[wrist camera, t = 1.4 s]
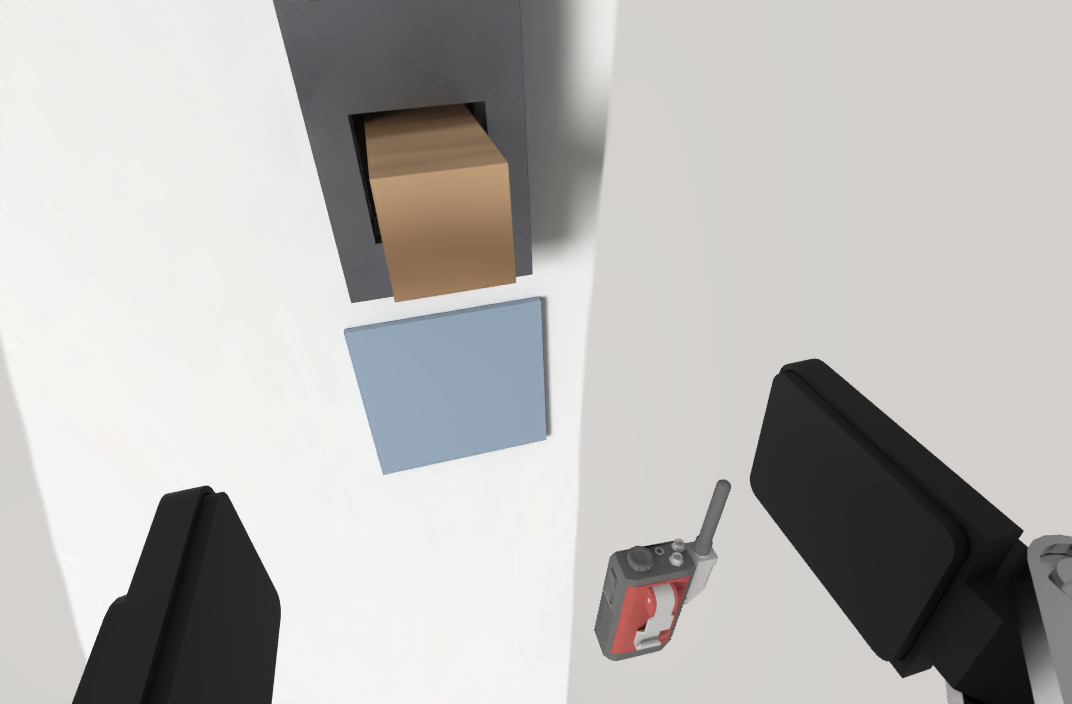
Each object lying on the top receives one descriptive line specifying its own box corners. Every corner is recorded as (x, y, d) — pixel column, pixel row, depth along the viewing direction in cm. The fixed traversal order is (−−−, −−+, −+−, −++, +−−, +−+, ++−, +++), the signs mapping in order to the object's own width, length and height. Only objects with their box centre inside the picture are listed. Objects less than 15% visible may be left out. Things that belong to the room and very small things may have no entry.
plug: (363, 109, 23) (369, 179, 16) (460, 99, 24) (508, 162, 17) (382, 204, 26) (395, 302, 19) (470, 192, 26) (515, 282, 19)
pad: (344, 329, 29) (343, 333, 28) (539, 296, 30) (540, 300, 30) (382, 469, 34) (383, 474, 34) (544, 435, 36) (546, 439, 36)
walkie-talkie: (675, 618, 55) (728, 466, 44) (698, 664, 51) (761, 511, 40) (588, 638, 53) (621, 483, 42) (605, 687, 49) (646, 532, 38)
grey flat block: (211, -288, 17) (188, -327, 14) (484, -281, 18) (504, -316, 16) (351, 272, 27) (351, 303, 25) (517, 247, 29) (532, 274, 26)
